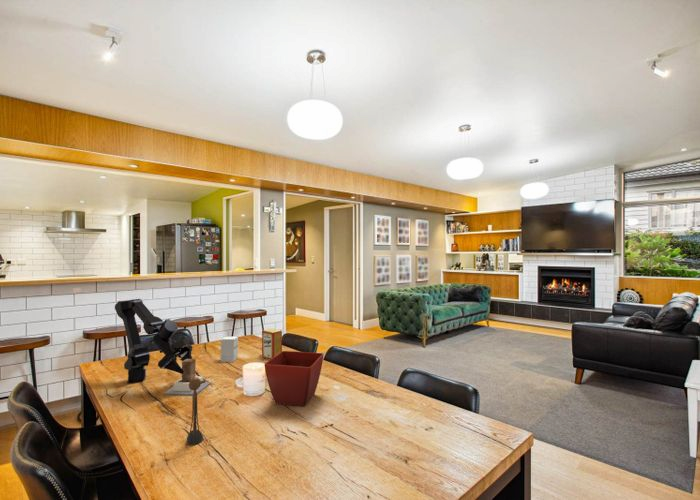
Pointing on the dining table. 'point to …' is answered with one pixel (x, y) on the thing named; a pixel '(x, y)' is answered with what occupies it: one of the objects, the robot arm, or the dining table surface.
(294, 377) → the plant pot
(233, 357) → the supplement box
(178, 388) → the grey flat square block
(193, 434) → the wooden tabletop sculpture
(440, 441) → the dining table surface
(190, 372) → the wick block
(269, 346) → the baking soda box
